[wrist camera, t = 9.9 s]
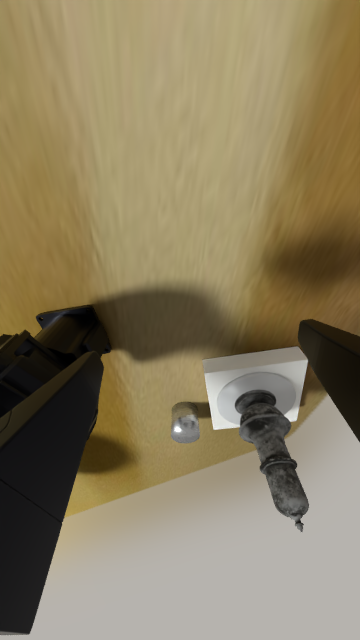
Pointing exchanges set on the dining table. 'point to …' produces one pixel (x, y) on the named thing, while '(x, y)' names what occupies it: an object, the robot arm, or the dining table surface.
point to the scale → (254, 382)
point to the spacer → (185, 423)
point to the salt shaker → (272, 451)
